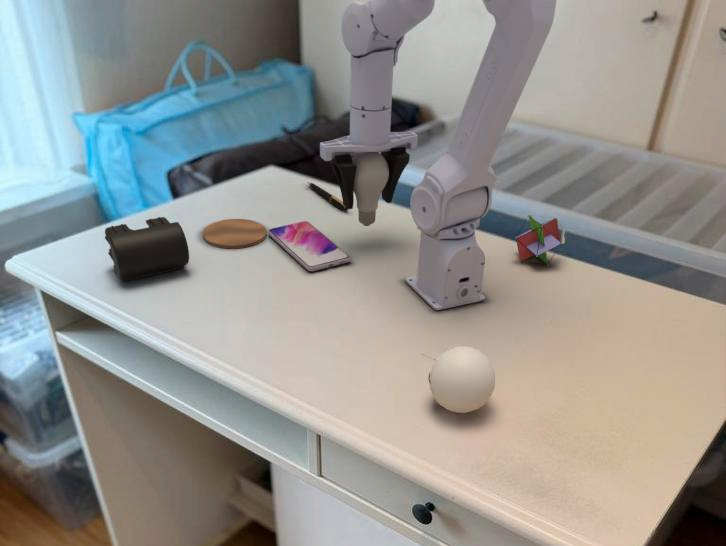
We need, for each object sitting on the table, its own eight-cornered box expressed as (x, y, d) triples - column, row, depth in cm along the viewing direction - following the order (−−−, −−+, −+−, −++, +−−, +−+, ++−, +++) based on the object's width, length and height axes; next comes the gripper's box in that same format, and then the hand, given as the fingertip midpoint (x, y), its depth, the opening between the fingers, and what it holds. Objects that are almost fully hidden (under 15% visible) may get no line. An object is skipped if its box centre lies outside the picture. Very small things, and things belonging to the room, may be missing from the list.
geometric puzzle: (516, 260, 105) (554, 214, 102) (495, 241, 110) (531, 196, 106) (545, 283, 109) (582, 239, 106) (523, 263, 114) (559, 220, 111)
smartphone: (309, 268, 104) (266, 229, 114) (309, 273, 105) (266, 234, 114) (352, 257, 107) (307, 220, 116) (352, 262, 107) (307, 225, 117)
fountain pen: (304, 186, 130) (303, 177, 129) (309, 185, 130) (309, 176, 129) (345, 214, 121) (345, 205, 120) (350, 213, 122) (351, 204, 120)
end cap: (124, 290, 100) (114, 244, 95) (109, 269, 104) (99, 224, 100) (192, 275, 104) (186, 229, 99) (176, 255, 108) (169, 211, 103)
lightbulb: (369, 214, 114) (371, 140, 106) (394, 227, 110) (398, 152, 103) (338, 223, 111) (339, 148, 103) (364, 237, 107) (366, 161, 100)
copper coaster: (275, 242, 112) (275, 239, 112) (212, 252, 109) (212, 249, 109) (255, 218, 119) (254, 215, 119) (195, 227, 116) (195, 224, 115)
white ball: (504, 413, 81) (515, 358, 76) (451, 434, 78) (459, 378, 73) (451, 370, 87) (458, 316, 82) (401, 387, 84) (405, 333, 79)
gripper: (404, 92, 104) (398, 187, 113) (311, 102, 99) (313, 200, 108) (427, 106, 99) (419, 204, 108) (330, 116, 94) (331, 218, 104)
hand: (367, 203), depth 108 cm, fingers closed on lightbulb, 6 cm apart
